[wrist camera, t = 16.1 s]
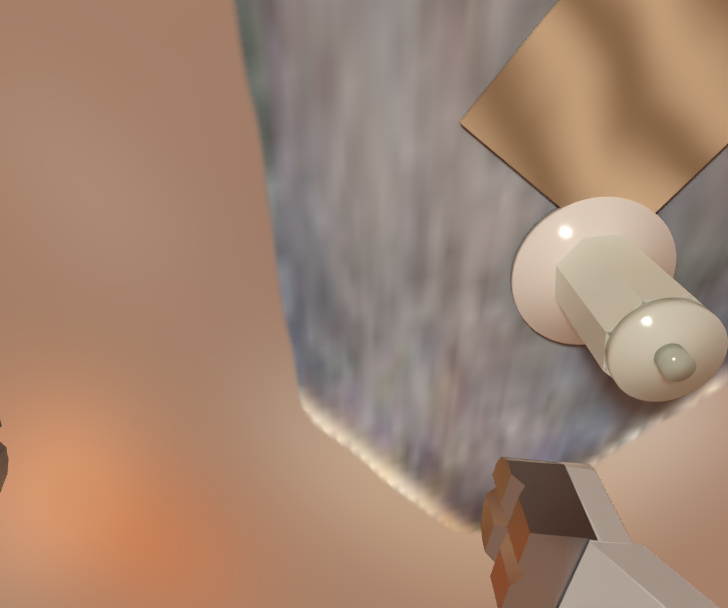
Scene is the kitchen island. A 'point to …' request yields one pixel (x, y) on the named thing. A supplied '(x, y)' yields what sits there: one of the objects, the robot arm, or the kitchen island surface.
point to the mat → (612, 99)
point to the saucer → (561, 236)
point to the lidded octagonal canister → (638, 320)
